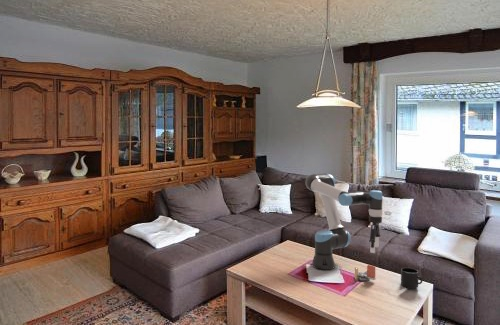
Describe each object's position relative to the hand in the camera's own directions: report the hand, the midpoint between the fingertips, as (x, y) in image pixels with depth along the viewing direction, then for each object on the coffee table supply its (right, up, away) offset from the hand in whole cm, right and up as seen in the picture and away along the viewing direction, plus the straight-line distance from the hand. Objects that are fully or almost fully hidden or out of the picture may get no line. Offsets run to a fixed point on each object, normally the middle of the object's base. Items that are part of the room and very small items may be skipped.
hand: (374, 249), depth 216 cm
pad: (-1, -18, +12) cm, 22 cm away
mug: (+18, -19, -10) cm, 28 cm away
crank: (-5, -17, -1) cm, 18 cm away
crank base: (-8, -19, +1) cm, 20 cm away
